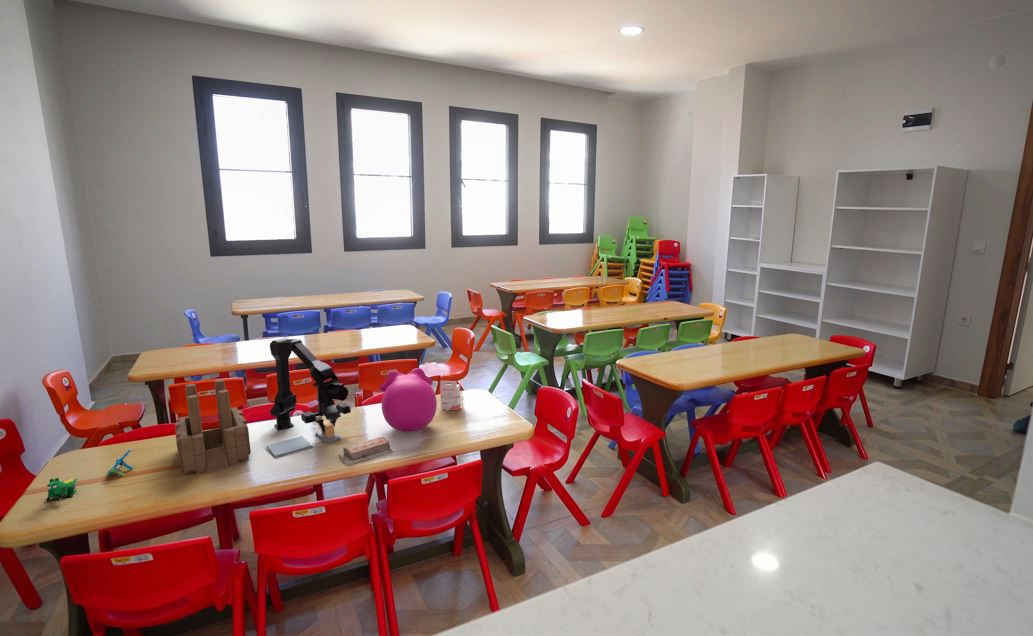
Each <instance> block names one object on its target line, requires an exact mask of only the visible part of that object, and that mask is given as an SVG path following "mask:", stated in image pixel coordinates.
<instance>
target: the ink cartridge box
mask: <svg viewBox="0 0 1033 636" xmlns="http://www.w3.org/2000/svg"><path fill="white" fill-rule="evenodd" d="M439 389H440V390H439V391H440V410H441V409H447V410H458V411H459V410H460V409H461V408H460V407H461V405H462V404H461V385H460V384H458V381H456V380H440V386H439ZM447 410H446V411H447Z"/></svg>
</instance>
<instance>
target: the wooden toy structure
mask: <svg viewBox="0 0 1033 636" xmlns="http://www.w3.org/2000/svg"><path fill="white" fill-rule="evenodd" d="M184 387H185V396H186V397H185V398H186V401H187V410H188V416H183V417H178V418H177V419H178V420H177V422H175V423H174V429H175V439H176V448H177V449H176V450H177V456H178V462H179V468H180V469H179V470H181V471H182V472H184V475H185V476H186V475H190V474H193V473H196V474H200V473H205V472H207V473H208V474H209V473H212V472H216V471H220V470H224V469H225V470H226V469H230V466H233V465H238V464H240V463H239V462H244V461H248V460H249V455H250V454H251V453H252V452H251V451H252V449H251V441H250V433H249V427H248V425H247V418H244V412H243V411H242V410H239V409H238V407H231V402H230V401H231V400H230V393H229V390H228V389H226V385H225V379H223V378H222V379H215V380H214V390H215V398H216V407H217V414H218V421H219V427H217V428H213V429H208V430H203V425H202V416H201V409H200V402H199V396H198V393H197V386H196V384H195V383H189V384H186V385H185V386H184ZM216 445H222V446H220V447H214V448H211V449H210V448H209V449H207V450H206V447H207V448H208V447H211V446H216Z"/></svg>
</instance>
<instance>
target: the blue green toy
mask: <svg viewBox="0 0 1033 636" xmlns="http://www.w3.org/2000/svg"><path fill="white" fill-rule="evenodd" d="M131 452H132V449H131V448H130V449H128V450H127V451H126V452H125V453H124V454H123V455H122V457H121V458H117V459H116V460H115V464H114V465H113V466H112V467H111V468H110V469H109V470H108V471H107V473H106V474H108V475H110V474H111V473H113V474H118V475H120V476H122V477H123V476H125V474H124V473H123V472H121V471H120V470H121V469H122V467H124V468H126V469H127V470H130V471H132V470H133V469H134V467H133V466H131V465H129V464H127V462H126V461H124V459H125V458H126V457H127V456H128V455H129V454H130V453H131ZM118 466H119V467H118ZM117 467H118V468H117Z"/></svg>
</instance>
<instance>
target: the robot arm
mask: <svg viewBox="0 0 1033 636" xmlns="http://www.w3.org/2000/svg"><path fill="white" fill-rule="evenodd" d="M269 350H270V351H269V352H270V354H271V356H272V357H273V359H274V360H275V368H276V381H277V382H276V384H277V393H276V395H275V396H274V403H273V404H274V405H273V406H272V407H271V409H270V410H269V413H270V415H271V416H273V417H275V420H276V424H274V427H275V428H276V429H277V430H278V431H280V430H284V429H289V428H292V427H294V426H295V425H294V423H292V419H291V413H292V412H294V411H295V408H296V405H297V402H298V401H297V395H296V393H293V392H292V390H291V378H290V362H289V358H290V357H291V354H292V353H293V354H294V355H296V357H297V358H298V359H299V360H300V361H301V362H302V363H303V364H304V365H305V366H306V367H307V368H308V370H309V373H310V376H311V378H312V380H314V382H313V383H312V386H313V387H316V393H317V394H316V395H317V398H316V401H317V405H318V408H317V411H318V412H312V411H306V412H302V414H301V415H300V418H301V419H300V420H301V421H302V422H304V424H311V423H314V422H315V423H317V425H318V426H319V428H320V431H321V430H322V432H323V434H325V429H324V423H323V422H324V421H325V420H324V419H323V417H325V419H326V420H328V421H330V422H331V423H332V424H334V427H335V425H336V423H337V420H338V419H339V418H342V415H341V414H343V415H347V414H350V413H352V409H351V407H350V406H349V405H348V404H346V403H340V404H335V400H337V401H341V402H342V401H343V402H344V401H345V400H346V399H348V395H349V390H348V388H347V387H346V386H345V384H344V383H341V382H340V379H339V378H338V376H337V375H336V373H335V371H334V369H333V368H332V367H331V366H330V365H329V364H327V363H326V362H323V361H320V360H319V359H318V358H317V357H316V356H315V355H314V354H313V353H312V352H311V351H310V349H308V348H307V347H306V345H304V343H303V341H302V340H301V338H300V339H299V338H298V339H296V338H292V339H291V338H290V339H289V337H283V338H277V339H274V340H272V341H271V342H270V343H269ZM339 382H340V383H339Z"/></svg>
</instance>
